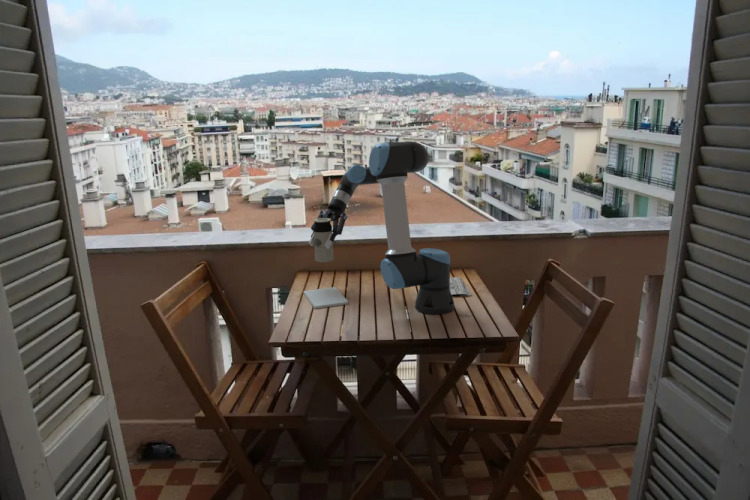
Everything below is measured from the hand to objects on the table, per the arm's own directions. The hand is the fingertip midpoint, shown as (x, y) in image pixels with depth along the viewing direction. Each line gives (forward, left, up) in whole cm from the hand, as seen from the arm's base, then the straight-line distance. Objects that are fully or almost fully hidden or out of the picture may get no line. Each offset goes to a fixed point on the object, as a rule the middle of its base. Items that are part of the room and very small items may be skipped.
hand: (318, 245), depth 237 cm
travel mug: (+2, -3, -7) cm, 8 cm away
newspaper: (-22, -54, -20) cm, 61 cm away
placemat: (-13, +1, -19) cm, 23 cm away
